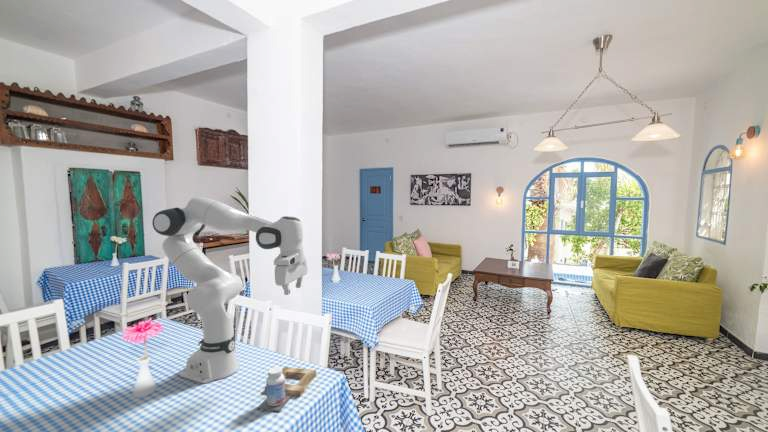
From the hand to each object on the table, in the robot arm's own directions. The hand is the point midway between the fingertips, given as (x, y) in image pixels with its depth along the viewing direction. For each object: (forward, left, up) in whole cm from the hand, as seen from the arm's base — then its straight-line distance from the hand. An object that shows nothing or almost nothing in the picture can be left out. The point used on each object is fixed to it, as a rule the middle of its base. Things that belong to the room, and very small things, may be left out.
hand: (293, 290), depth 126 cm
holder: (+2, -7, -34) cm, 35 cm away
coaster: (+2, -19, -34) cm, 39 cm away
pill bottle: (+2, -19, -34) cm, 39 cm away
